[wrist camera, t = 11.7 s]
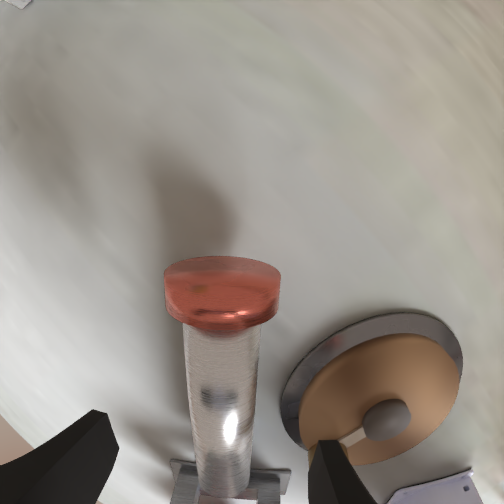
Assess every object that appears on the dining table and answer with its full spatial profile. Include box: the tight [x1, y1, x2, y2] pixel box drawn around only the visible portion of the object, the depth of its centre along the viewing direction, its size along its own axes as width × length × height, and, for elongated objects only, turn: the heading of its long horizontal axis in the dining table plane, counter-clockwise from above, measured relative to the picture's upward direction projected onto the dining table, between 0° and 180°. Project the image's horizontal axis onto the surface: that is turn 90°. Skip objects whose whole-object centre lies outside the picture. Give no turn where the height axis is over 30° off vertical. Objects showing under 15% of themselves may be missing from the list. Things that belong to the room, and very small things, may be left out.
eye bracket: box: [170, 459, 291, 504], centre depth 15 cm, size 9×10×7 cm
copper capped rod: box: [164, 256, 281, 498], centre depth 13 cm, size 4×13×4 cm, turn 178°
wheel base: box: [281, 312, 463, 451], centre depth 16 cm, size 12×12×1 cm
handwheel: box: [298, 333, 459, 469], centre depth 13 cm, size 10×10×6 cm
